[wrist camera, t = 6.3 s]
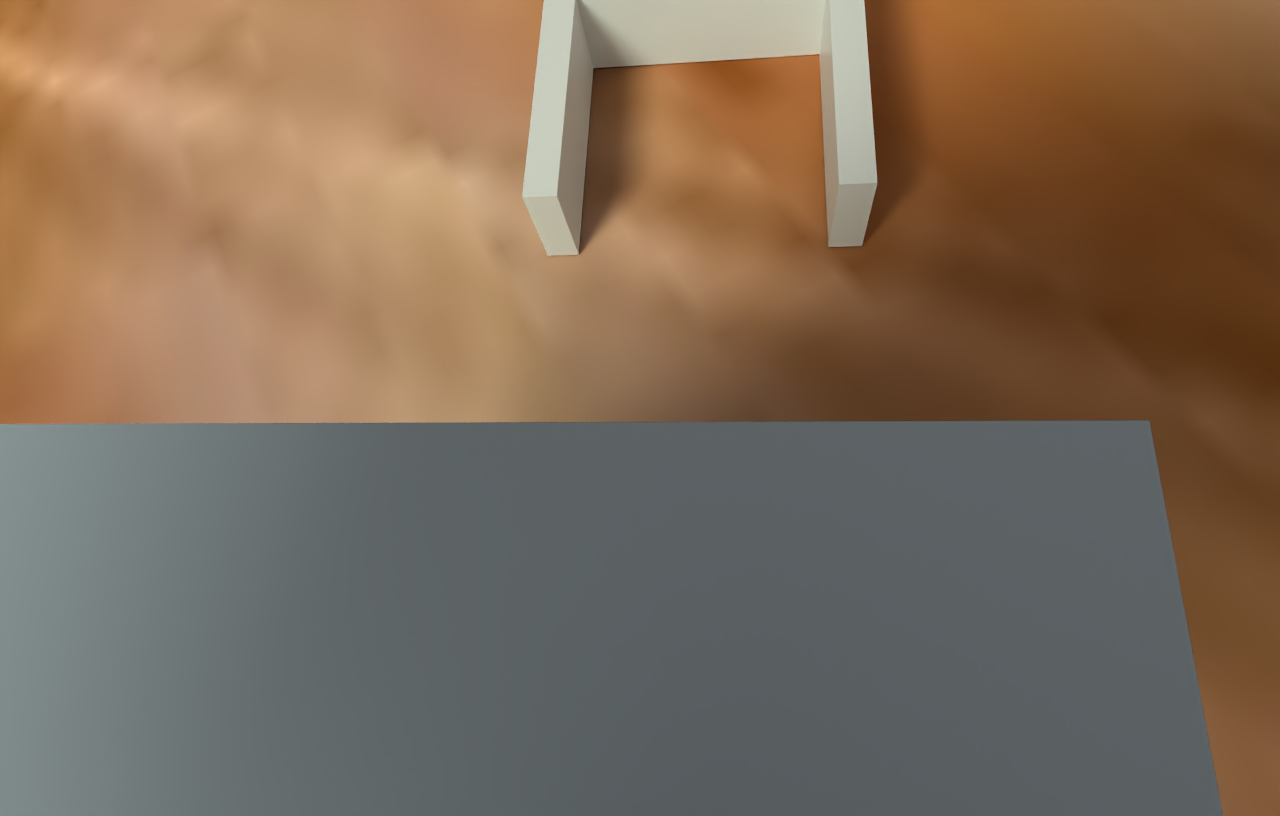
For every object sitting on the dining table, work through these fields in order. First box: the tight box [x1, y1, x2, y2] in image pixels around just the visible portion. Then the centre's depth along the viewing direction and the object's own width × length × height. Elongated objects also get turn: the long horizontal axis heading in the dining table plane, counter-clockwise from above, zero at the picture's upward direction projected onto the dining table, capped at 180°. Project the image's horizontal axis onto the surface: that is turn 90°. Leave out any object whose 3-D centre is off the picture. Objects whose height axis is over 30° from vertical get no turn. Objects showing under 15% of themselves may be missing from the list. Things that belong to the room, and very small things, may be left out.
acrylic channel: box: [522, 0, 877, 256], centre depth 20 cm, size 7×8×2 cm
